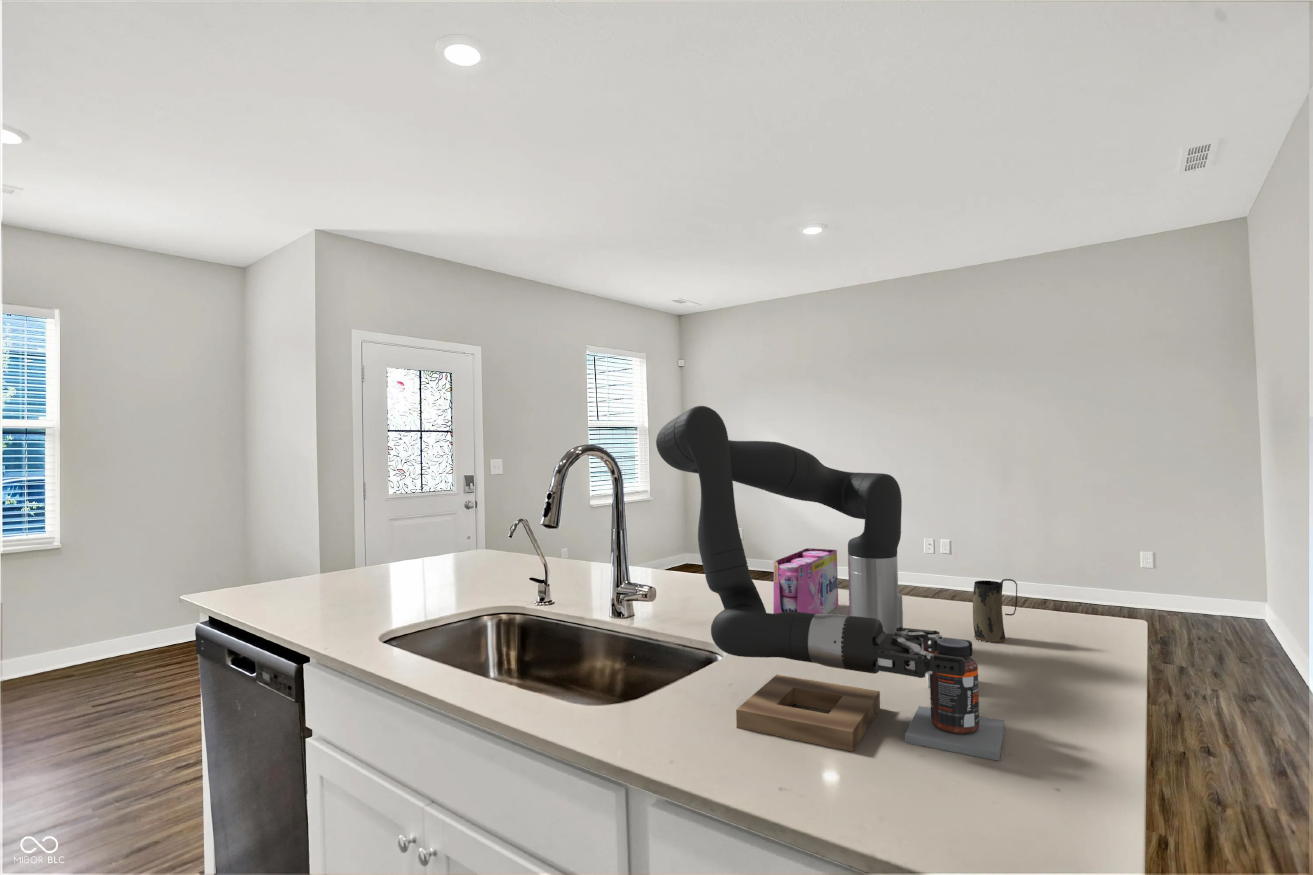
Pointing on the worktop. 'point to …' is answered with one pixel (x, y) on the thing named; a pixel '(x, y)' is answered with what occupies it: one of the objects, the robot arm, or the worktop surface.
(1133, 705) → the worktop surface
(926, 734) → the slate pad
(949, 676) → the supplement bottle
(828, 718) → the socket block
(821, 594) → the gum box
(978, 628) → the mug
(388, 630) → the worktop surface
